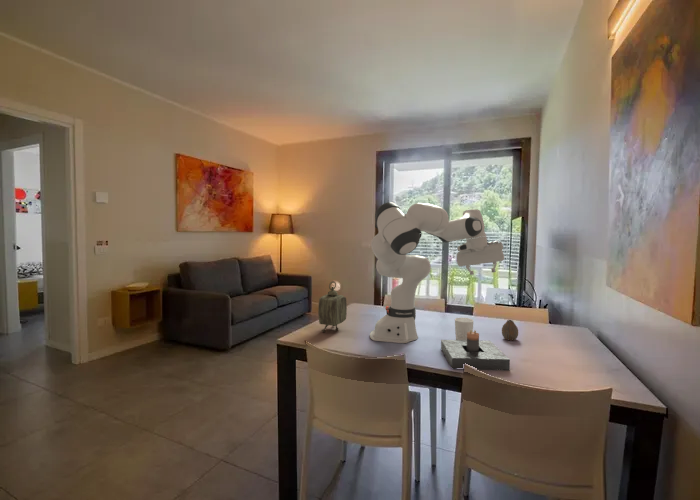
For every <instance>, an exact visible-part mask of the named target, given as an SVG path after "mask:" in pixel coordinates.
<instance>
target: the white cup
mask: <svg viewBox="0 0 700 500" xmlns="http://www.w3.org/2000/svg"><path fill="white" fill-rule="evenodd" d="M470 330H472V332H474V319H471V318H468V317H456V318H455V319H454V331H455V332H454V333H455V340H467V332H470Z"/></svg>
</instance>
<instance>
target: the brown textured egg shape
mask: <svg viewBox="0 0 700 500" xmlns="http://www.w3.org/2000/svg"><path fill="white" fill-rule="evenodd" d="M501 335H502V337H503V338H504V340H506V341H513V342H514V341H516V340H517V338H518V337H519V328H518V326H517V325H516V323H515V322H514V320H512V319H507V320H506V322H505V323H504V324H503V325H502V328H501Z"/></svg>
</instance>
